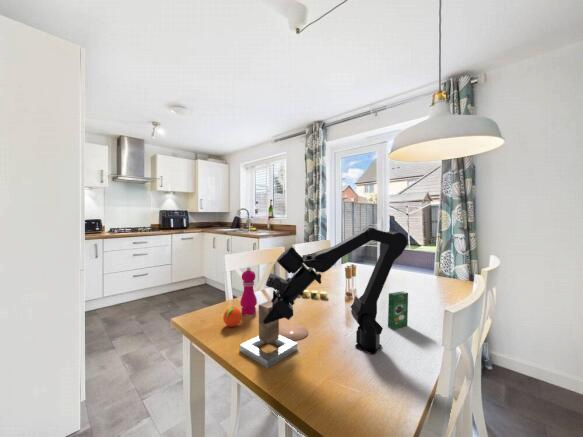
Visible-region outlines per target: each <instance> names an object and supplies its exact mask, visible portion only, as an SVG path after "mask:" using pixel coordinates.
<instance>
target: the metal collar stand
mask: <svg viewBox="0 0 583 437" xmlns="http://www.w3.org/2000/svg"><path fill="white" fill-rule="evenodd" d="M272 343H273V344H274V345H276V346H279V347H278V348H276V349H274V350H272V351H271V352H269V353H267V352H265V351H263V350H261V349H260V348H259V347H261V346H263V345H265V344H267V343H266V342H264V341H262V340H260V339H259V335H257V336H255V337H253V338H250V339H249V340H247V341H244V342H242V343H241V344H239V352H240V353H242V354H244V355H246V356H247V357H249V358H250V359H252V360H254V361H255V362H257V363H258V364H260V365H262V366H263V367H264V368H267V369H269V368H271V366H274V365H275V364H276V363H278V362H280V361H282V360H283V359H285V358H286V357H288V356H289V355H291V354H292V353H295V352H296V351H297V350H298V342H296V341H295V340H289V339H287V338H285V337H283V336H281V335H279V339H277V340H275V341H273V342H271V344H272Z"/></svg>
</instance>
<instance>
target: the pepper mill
mask: <svg viewBox="0 0 583 437" xmlns="http://www.w3.org/2000/svg"><path fill="white" fill-rule="evenodd" d="M241 279H242V281H243V282H242V286H243V292H242V295H241V298H240V303H239V304H240V306H241V311H240V312H241V315H245V316H250V315H254V314H255V313H256V310H257V308H256V306H257V304H258V300H257V297H256V295H255V290H254V285H255V280H256V273H255V272H254V271H253V270H251V267H249V266H247V267H246V270H245V271H243V272H242V274H241Z"/></svg>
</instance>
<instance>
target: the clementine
mask: <svg viewBox="0 0 583 437" xmlns="http://www.w3.org/2000/svg"><path fill="white" fill-rule="evenodd" d="M242 315H243V314H242V313H241V311H240V309H239V308H238V307H229V308H228V309H226V310H225V311H224V314H223V322H224V324H225V325H226V326H228V327H231V328H232V327H236V326H238V324H240V322H241V320H242Z"/></svg>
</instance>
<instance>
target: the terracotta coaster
mask: <svg viewBox="0 0 583 437" xmlns="http://www.w3.org/2000/svg"><path fill="white" fill-rule="evenodd" d="M308 334H309V331H308V329H307V328H306V327H304V325H298V324H287V325H286V324H285V325H282V326H281V327H279V335H281V336H283V337H285V338H287V339H289V340H292V341H299V340H303V339H305V338H306V337H307V336H308Z"/></svg>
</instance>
